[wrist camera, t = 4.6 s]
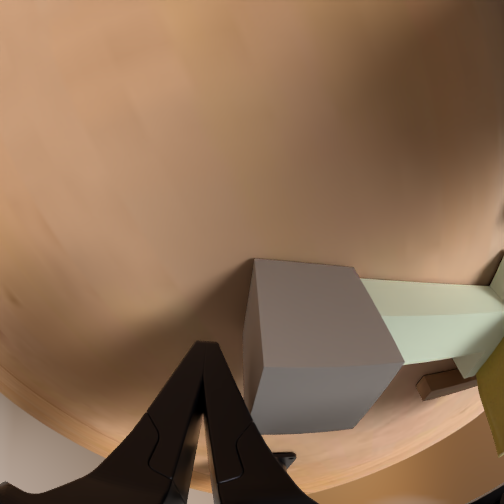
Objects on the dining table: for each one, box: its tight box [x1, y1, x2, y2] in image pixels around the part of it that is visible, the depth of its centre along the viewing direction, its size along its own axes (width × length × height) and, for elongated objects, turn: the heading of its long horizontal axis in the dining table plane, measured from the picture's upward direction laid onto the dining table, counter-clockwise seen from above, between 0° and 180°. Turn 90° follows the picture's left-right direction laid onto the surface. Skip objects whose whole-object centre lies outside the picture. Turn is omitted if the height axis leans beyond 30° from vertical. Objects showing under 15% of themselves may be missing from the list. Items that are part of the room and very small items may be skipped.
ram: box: [243, 257, 504, 435], centre depth 10 cm, size 8×15×5 cm, turn 83°
